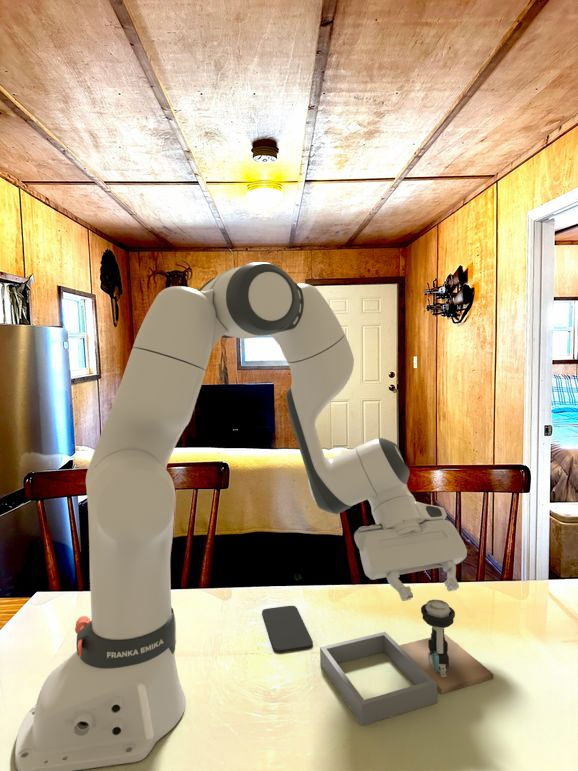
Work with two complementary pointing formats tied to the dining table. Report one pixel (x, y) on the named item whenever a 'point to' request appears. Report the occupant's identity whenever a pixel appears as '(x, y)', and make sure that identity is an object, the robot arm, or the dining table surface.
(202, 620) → the dining table surface
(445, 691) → the walnut board
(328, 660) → the gray rectangular frame
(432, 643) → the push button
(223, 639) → the dining table surface
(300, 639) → the phone
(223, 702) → the dining table surface
